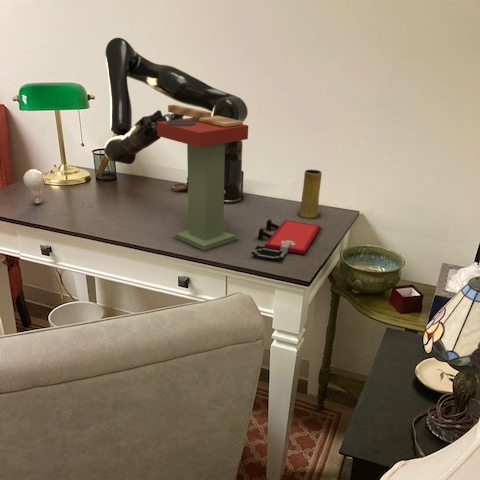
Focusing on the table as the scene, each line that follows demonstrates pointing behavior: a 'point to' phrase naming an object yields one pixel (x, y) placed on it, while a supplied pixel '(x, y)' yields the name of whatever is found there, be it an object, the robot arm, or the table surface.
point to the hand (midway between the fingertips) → (172, 112)
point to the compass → (180, 187)
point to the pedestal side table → (204, 176)
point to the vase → (310, 194)
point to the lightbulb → (34, 184)
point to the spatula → (203, 116)
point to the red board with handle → (286, 239)
